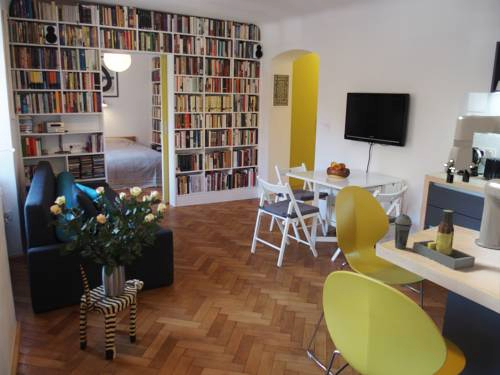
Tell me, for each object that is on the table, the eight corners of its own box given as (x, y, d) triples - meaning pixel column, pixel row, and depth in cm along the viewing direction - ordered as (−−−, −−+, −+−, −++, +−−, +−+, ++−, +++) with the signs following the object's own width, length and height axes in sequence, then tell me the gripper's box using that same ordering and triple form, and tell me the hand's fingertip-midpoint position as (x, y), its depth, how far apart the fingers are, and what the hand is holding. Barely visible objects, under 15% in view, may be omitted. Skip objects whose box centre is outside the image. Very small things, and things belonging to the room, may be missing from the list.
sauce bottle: (452, 259, 170) (459, 213, 166) (436, 258, 171) (442, 212, 167) (448, 254, 177) (454, 209, 173) (432, 252, 178) (438, 208, 174)
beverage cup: (389, 244, 189) (394, 202, 185) (405, 245, 189) (410, 203, 185) (394, 250, 182) (399, 206, 178) (411, 250, 182) (416, 207, 178)
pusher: (434, 248, 183) (435, 237, 182) (443, 252, 178) (445, 241, 177) (419, 250, 180) (421, 239, 179) (429, 254, 175) (430, 243, 174)
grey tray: (431, 248, 186) (432, 239, 185) (473, 266, 166) (475, 257, 165) (412, 250, 182) (413, 242, 181) (453, 269, 162) (455, 260, 161)
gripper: (469, 143, 186) (464, 180, 189) (441, 143, 179) (436, 181, 183) (484, 145, 179) (478, 183, 183) (455, 145, 172) (450, 185, 176)
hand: (457, 182), depth 183 cm, fingers open, 9 cm apart
